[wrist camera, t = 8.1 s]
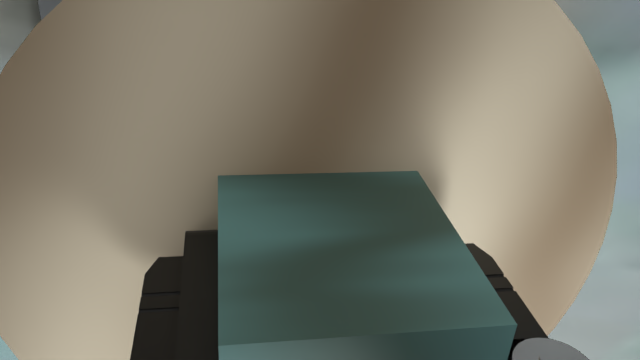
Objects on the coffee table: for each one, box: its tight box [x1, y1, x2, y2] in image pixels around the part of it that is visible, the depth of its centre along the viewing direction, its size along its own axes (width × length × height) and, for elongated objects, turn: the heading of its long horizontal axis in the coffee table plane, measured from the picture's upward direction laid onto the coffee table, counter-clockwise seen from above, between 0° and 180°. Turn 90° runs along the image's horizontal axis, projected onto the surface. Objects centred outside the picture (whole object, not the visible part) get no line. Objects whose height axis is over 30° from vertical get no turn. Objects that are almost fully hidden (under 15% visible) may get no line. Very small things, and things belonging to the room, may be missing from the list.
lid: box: [0, 0, 617, 360], centre depth 11 cm, size 14×14×6 cm
